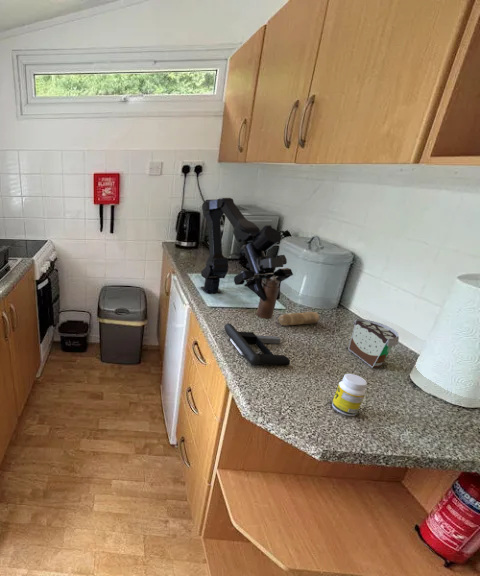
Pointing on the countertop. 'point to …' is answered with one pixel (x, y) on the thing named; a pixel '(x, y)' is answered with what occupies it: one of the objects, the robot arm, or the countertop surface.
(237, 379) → the countertop surface
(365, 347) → the food container
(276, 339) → the door handle
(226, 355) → the countertop surface
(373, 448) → the countertop surface
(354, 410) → the supplement bottle
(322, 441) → the countertop surface
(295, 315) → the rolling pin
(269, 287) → the pepper mill
